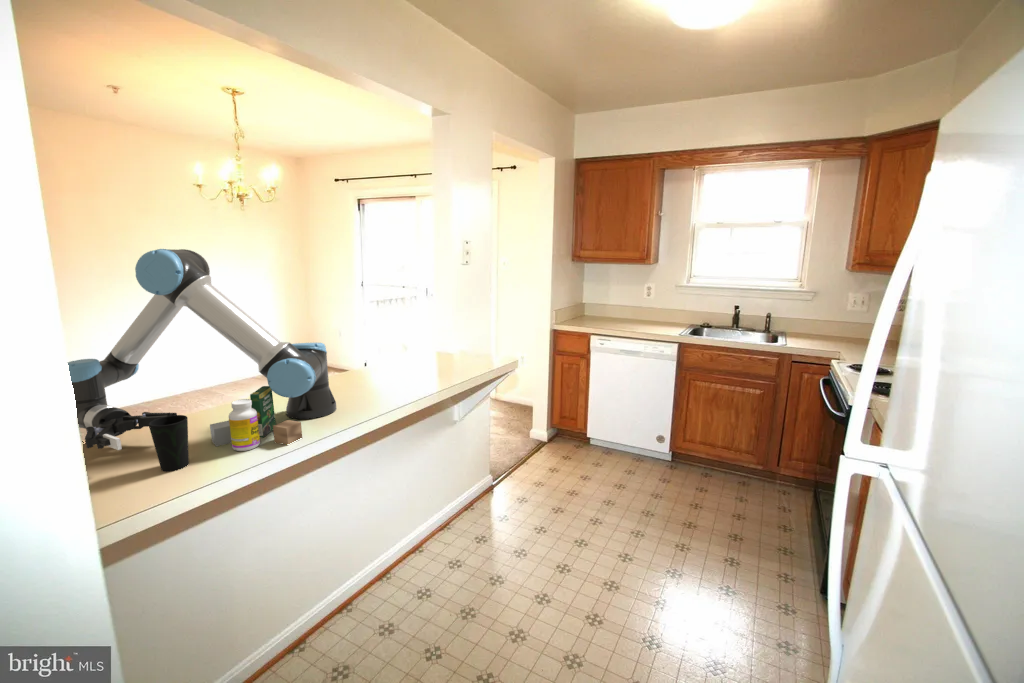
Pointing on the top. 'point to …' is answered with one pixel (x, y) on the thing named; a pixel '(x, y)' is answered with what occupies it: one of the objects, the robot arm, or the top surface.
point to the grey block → (220, 433)
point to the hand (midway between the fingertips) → (151, 434)
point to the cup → (171, 441)
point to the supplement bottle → (244, 426)
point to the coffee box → (264, 409)
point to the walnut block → (287, 432)
